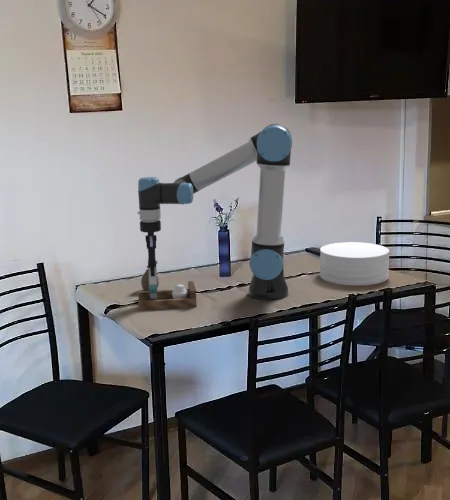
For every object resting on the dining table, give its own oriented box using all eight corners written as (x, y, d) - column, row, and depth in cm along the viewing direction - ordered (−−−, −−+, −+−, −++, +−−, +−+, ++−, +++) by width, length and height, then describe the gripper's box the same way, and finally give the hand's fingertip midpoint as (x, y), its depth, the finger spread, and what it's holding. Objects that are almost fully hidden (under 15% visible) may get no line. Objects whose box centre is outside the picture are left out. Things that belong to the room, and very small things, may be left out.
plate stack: (400, 282, 279) (401, 254, 276) (335, 288, 272) (336, 260, 269) (369, 265, 305) (370, 240, 302) (310, 270, 299) (310, 244, 296)
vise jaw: (157, 299, 262) (155, 258, 258) (158, 306, 252) (156, 264, 249) (149, 299, 261) (147, 258, 258) (150, 307, 252) (147, 264, 248)
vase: (145, 294, 269) (144, 272, 267) (139, 290, 275) (137, 268, 273) (161, 291, 272) (160, 270, 270) (155, 287, 278) (154, 266, 276)
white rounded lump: (184, 305, 254) (183, 287, 253) (169, 303, 256) (168, 285, 255) (191, 300, 260) (190, 282, 258) (176, 299, 262) (176, 281, 260)
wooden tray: (193, 296, 265) (193, 281, 264) (196, 306, 252) (196, 290, 251) (138, 299, 263) (137, 283, 262) (138, 310, 250) (137, 294, 248)
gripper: (139, 216, 257) (142, 277, 263) (139, 224, 242) (142, 289, 247) (159, 215, 258) (162, 276, 263) (161, 224, 242) (163, 288, 248)
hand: (152, 282), depth 255 cm, fingers closed on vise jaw, 3 cm apart
